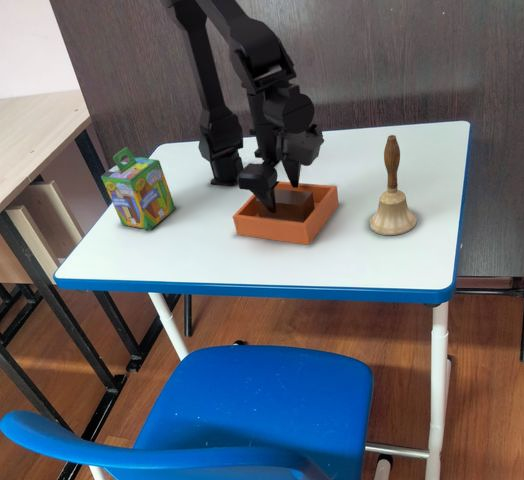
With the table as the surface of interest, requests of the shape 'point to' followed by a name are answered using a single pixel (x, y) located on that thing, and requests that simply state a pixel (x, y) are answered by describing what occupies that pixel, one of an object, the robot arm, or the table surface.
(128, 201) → the chalk box
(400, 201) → the hand bell
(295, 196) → the eraser
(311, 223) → the tray
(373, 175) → the table surface
